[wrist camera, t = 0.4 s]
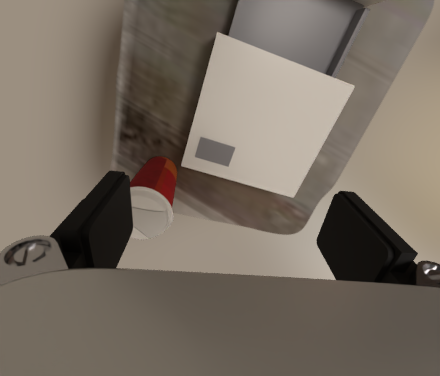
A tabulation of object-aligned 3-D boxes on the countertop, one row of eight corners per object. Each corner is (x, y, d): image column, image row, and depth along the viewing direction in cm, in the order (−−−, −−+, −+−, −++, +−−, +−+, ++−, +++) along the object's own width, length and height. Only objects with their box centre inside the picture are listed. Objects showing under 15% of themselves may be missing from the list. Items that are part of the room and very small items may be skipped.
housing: (216, 36, 32) (217, 31, 26) (332, 81, 35) (356, 86, 30) (185, 150, 40) (180, 166, 34) (282, 179, 43) (293, 198, 37)
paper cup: (132, 178, 42) (99, 228, 30) (148, 142, 39) (119, 181, 27) (172, 197, 44) (157, 251, 32) (191, 163, 41) (182, 209, 29)
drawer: (251, -55, 28) (260, -81, 23) (365, -1, 31) (397, -13, 25) (208, 93, 36) (207, 100, 30) (303, 126, 38) (317, 137, 33)
